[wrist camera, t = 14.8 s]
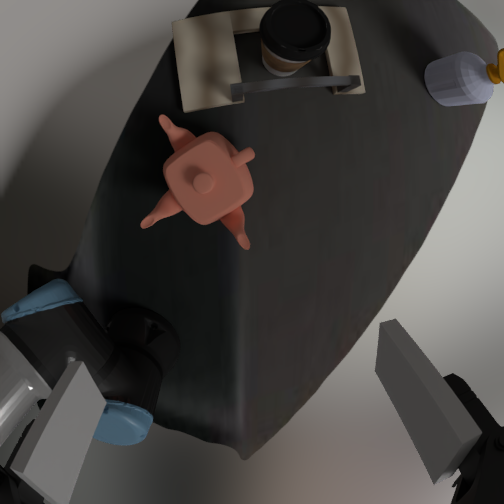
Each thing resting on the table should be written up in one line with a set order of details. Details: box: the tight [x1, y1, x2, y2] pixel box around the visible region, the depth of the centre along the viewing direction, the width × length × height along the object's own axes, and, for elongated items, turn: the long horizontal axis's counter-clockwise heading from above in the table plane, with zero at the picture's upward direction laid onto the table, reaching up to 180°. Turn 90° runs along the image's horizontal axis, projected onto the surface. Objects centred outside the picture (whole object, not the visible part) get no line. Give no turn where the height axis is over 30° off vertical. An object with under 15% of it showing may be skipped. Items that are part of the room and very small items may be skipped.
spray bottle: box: [424, 48, 504, 106], centre depth 28 cm, size 9×9×25 cm
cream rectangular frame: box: [172, 6, 365, 113], centre depth 35 cm, size 28×16×8 cm, turn 99°
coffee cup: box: [259, 0, 331, 76], centre depth 32 cm, size 8×8×15 cm
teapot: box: [141, 115, 255, 250], centre depth 39 cm, size 14×14×11 cm
